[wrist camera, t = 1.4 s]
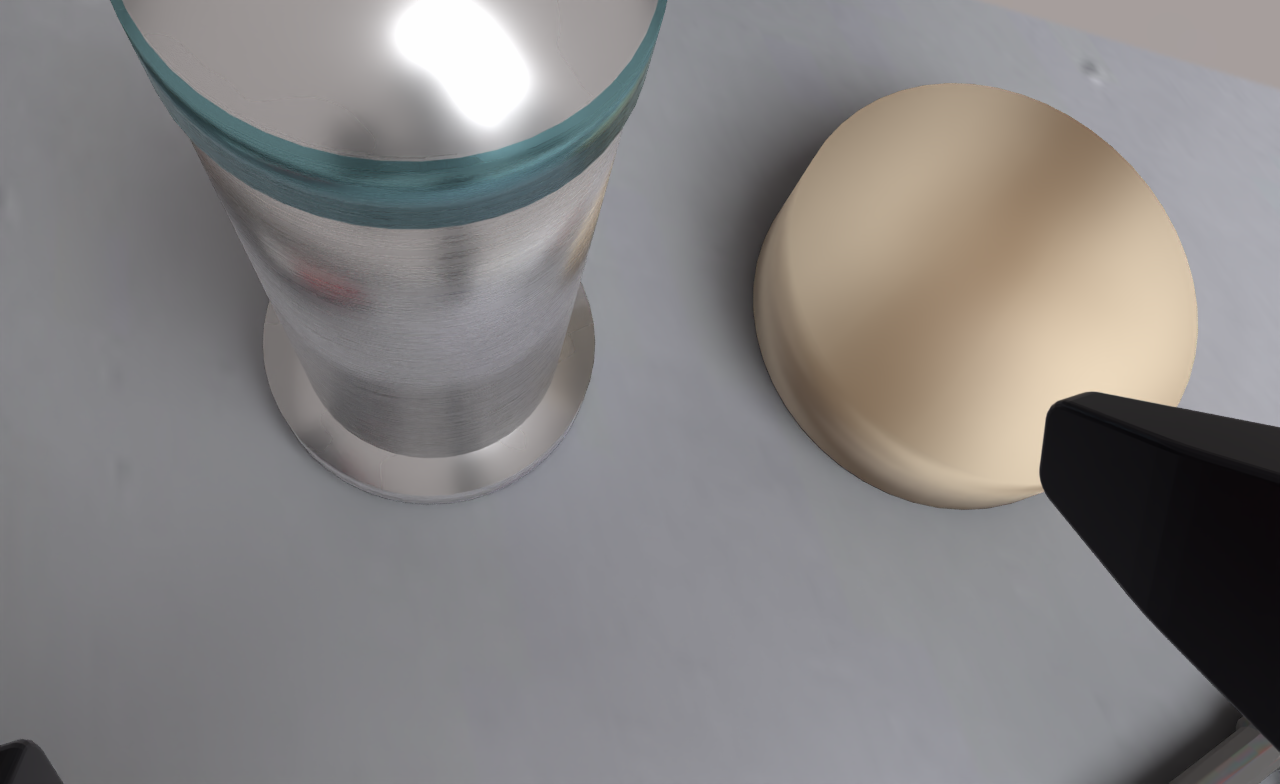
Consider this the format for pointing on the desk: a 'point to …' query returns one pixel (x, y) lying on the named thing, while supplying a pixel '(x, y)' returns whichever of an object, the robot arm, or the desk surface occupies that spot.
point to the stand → (966, 291)
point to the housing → (411, 211)
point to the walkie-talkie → (1235, 760)
